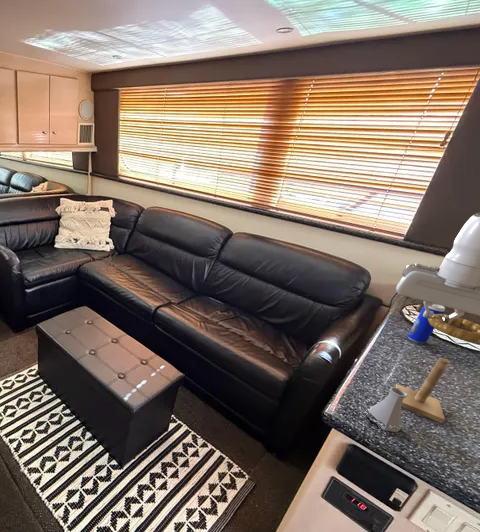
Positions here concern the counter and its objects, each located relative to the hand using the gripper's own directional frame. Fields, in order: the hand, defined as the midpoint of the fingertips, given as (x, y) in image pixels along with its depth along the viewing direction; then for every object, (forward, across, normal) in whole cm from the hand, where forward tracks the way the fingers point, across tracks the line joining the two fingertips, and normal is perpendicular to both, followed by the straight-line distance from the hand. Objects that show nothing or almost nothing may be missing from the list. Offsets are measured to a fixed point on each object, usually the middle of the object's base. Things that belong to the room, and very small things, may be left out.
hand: (436, 319), depth 86 cm
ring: (0, +4, 0) cm, 4 cm away
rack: (+23, +4, -6) cm, 24 cm away
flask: (+24, -4, -21) cm, 32 cm away
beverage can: (+24, +7, +40) cm, 47 cm away
